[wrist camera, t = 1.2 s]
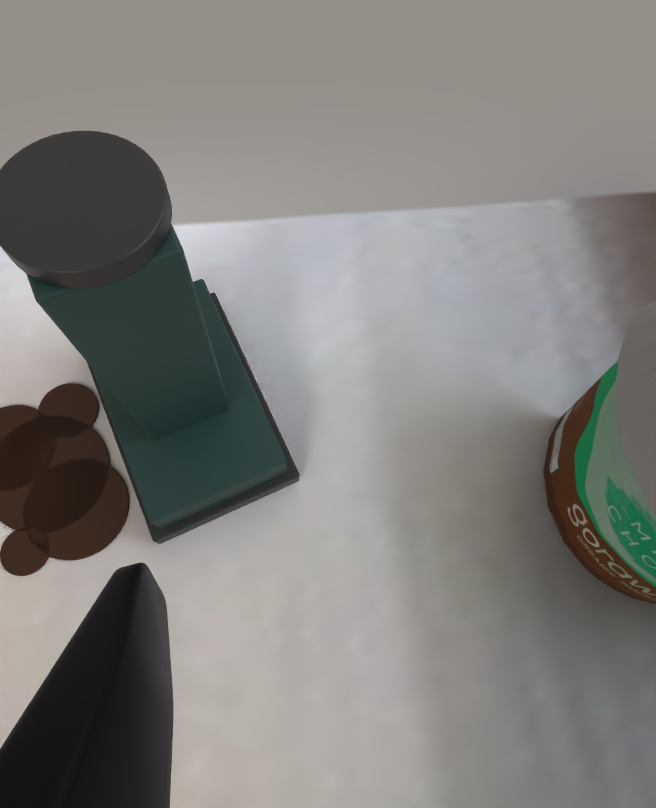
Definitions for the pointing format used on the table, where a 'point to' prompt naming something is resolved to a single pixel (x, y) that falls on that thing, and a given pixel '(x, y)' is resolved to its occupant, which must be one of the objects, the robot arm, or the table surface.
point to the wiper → (142, 327)
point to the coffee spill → (57, 482)
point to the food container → (611, 468)
